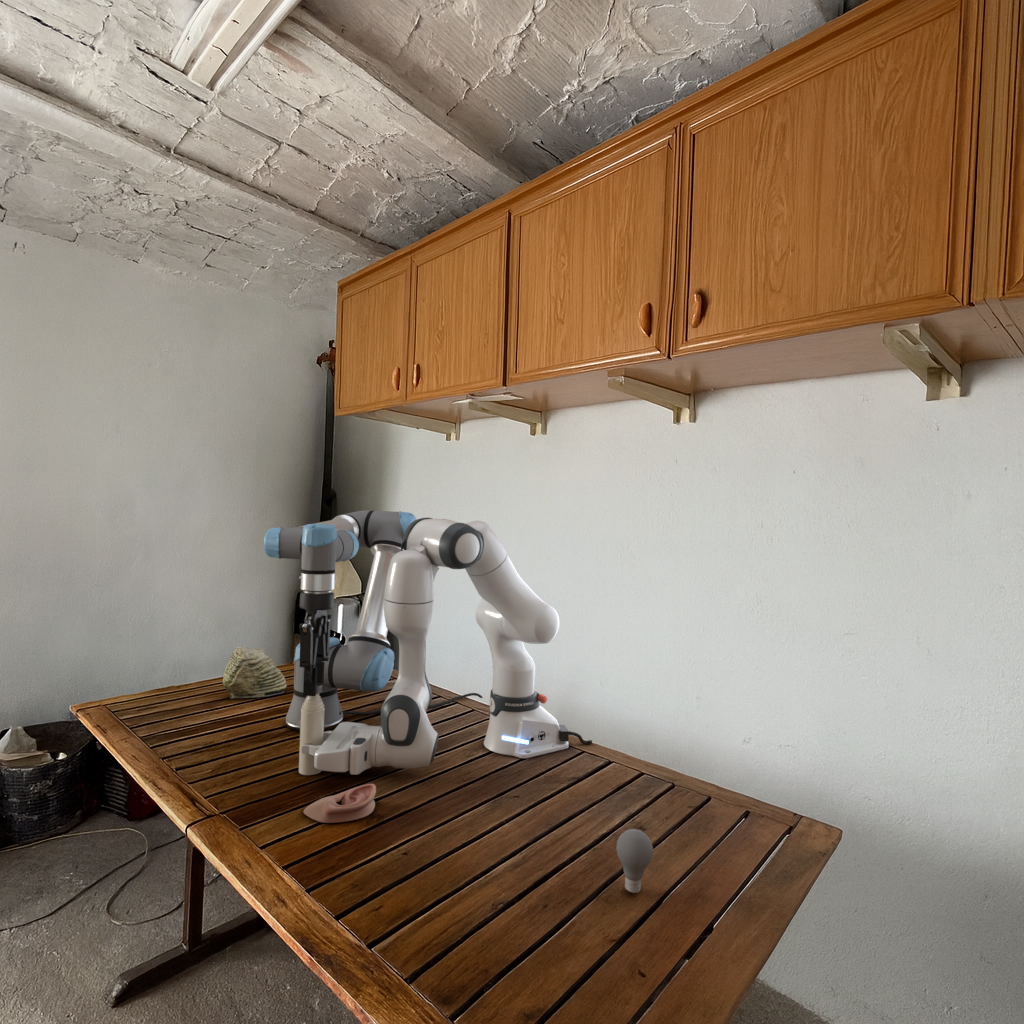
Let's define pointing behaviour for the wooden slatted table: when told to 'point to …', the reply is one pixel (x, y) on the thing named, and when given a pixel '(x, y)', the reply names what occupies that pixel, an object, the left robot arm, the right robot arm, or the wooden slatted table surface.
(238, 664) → the fossil
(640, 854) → the light bulb
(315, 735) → the bottle
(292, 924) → the wooden slatted table surface
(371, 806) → the anatomical model
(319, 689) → the cap
